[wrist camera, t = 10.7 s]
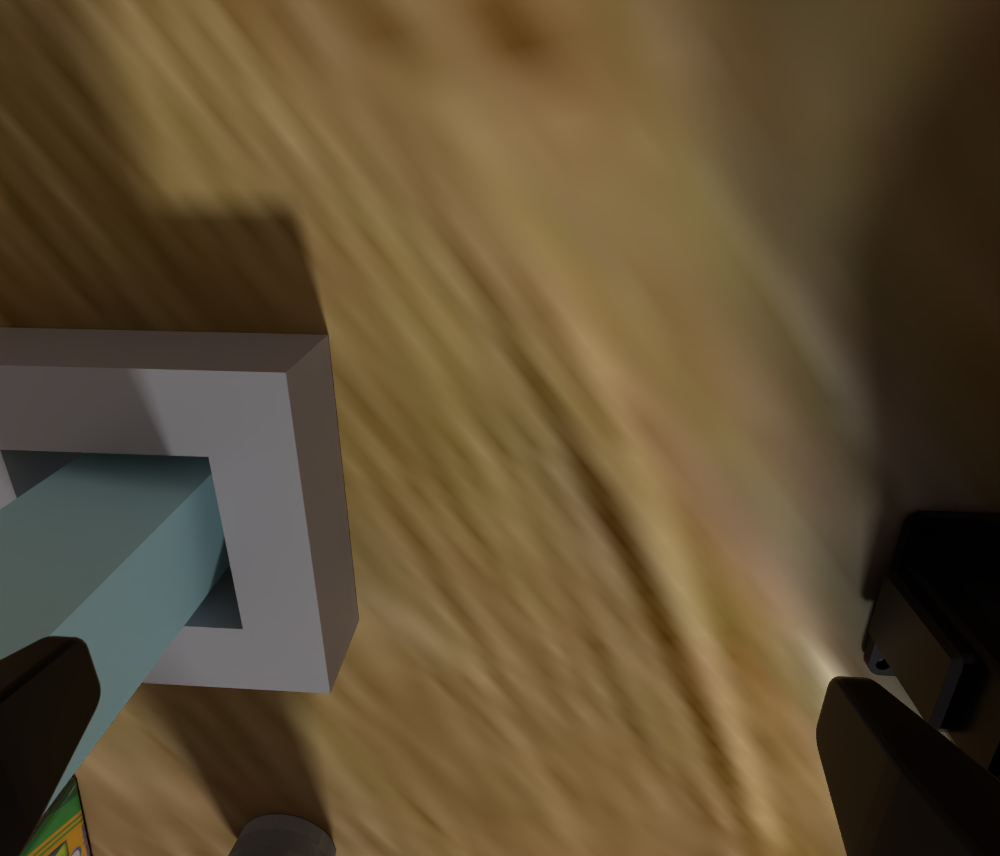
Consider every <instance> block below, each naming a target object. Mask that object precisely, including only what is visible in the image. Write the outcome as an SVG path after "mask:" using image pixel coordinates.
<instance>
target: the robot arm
mask: <svg viewBox="0 0 1000 856" xmlns="http://www.w3.org/2000/svg"><path fill="white" fill-rule="evenodd" d="M924 524H928V525H927V527H926V528H924V529H923V530H919V531H918V529H919V528H920V527H921V526H922V525H924ZM868 633H869V635H870V636H869V639H868V643H867V646H866V649H865V653H864V661H865V663H866V665H867V666H868V668H869V670H870V671H871V672H872V673H874V674H877V675H885V676H896V677H897V678H898V680H899V682H900V683H901V685H902V686H903V688H904V689H905V691H906V692H907V694H908V696H909V697H910V699H911V700H912V702H913V703H914V705H915V706H916V708H917V710H918V711H919V713H920V714H921V716H922V717H923V719H924V720H923V719H922V718H921V717H920V716H918V715H917V714H916V713H915V712H913V711H912V710H911V709H910V708H908V707H907V706H906V705H905V704H903V703H902V702H901V701H900V700H898V699H897V698H896V697H894V696H893V695H892V694H891V693H889V692H888V691H887V690H886V689H884V688H883V687H882V686H881V685H879V684H878V683H877V682H875V681H873V680H871V679H868V678H862V677H843V676H838V677H834V678H833V679H832V680H831V681H830V682H829V685H828V688H827V691H826V695H825V698H824V702H823V705H822V709H821V713H820V716H819V720H818V723H817V729H816V740H817V747H818V751H819V755H820V759H821V762H822V766H823V770H824V773H825V777H826V781H827V784H828V788H829V792H830V795H831V799H832V803H833V806H834V810H835V814H836V818H837V821H838V825H839V829H840V832H841V836H842V840H843V843H844V847H845V851H846V854H847V856H1000V513H978V512H951V511H917V512H915V513H912V514H911V515H909V516H908V517H907V518H906V520H905V521H904V523H903V527H902V530H901V533H900V536H899V540H898V543H897V546H896V550H895V553H894V556H893V560H892V563H891V566H890V570H889V571H888V572H887V574H886V575H885V576H884V579H883V583H882V586H881V589H880V593H879V596H878V600H877V603H876V606H875V610H874V613H873V616H872V620H871V623H870V626H869V630H868ZM881 659H883V660H882V661H879V660H881ZM100 695H101V685H100V682H99V679H98V676H97V673H96V670H95V667H94V664H93V661H92V658H91V655H90V652H89V648H88V646H87V644H86V642H85V641H83V640H82V639H81V638H78V637H68V636H47V637H44V638H41V639H39V640H37V641H35V642H33V643H31V644H30V645H28V646H26V647H24V648H22V649H20V650H18V651H16V652H14V653H12V654H10V655H8V656H7V657H5V658H3V659H1V660H0V856H20V854H21V852H22V851H23V849H24V847H25V846H26V844H27V842H28V841H29V839H30V837H31V835H32V834H33V832H34V830H35V828H36V826H37V825H38V823H39V821H40V819H41V817H42V815H43V813H44V812H45V810H46V808H47V806H48V804H49V802H50V800H51V798H52V796H53V794H54V792H55V790H56V788H57V786H58V784H59V782H60V780H61V778H62V776H63V774H64V772H65V770H66V768H67V766H68V764H69V762H70V760H71V758H72V756H73V754H74V752H75V750H76V748H77V746H78V744H79V742H80V740H81V739H82V737H83V735H84V733H85V731H86V729H87V727H88V725H89V723H90V721H91V719H92V717H93V715H94V713H95V711H96V709H97V706H98V704H99V700H100ZM940 732H945V733H946V734H947V736H948V737H949V739H950V740H951V741H950V740H949V739H947V738H946V737H945V736H944V735H942V734H941V733H940Z"/></svg>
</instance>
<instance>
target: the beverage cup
mask: <svg viewBox="0 0 1000 856" xmlns="http://www.w3.org/2000/svg"><path fill="white" fill-rule="evenodd" d="M335 855H336V849H335V847H334V844H333V841H332V840H331V838H330V837H329V836H328V835H327V834H326V833H325V832H324V830H322V829H321V828H319V827H318V826H316V825H315V824H313V823H312V822H309V821H307V820H304V819H301V818H299V817H295V816H290V815H284V814H272V815H264V816H261V817H258V818H254V819H253V820H251V821H250V822H249V823H247V824H246V825H245V826H244V828H243V830H242V832H241V834H240V836H239V838H238V840H237V841H236V843H235V845H234V847H233V848H232V850H231V852H230V854H229V855H228V856H335Z"/></svg>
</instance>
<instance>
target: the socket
mask: <svg viewBox="0 0 1000 856" xmlns="http://www.w3.org/2000/svg"><path fill="white" fill-rule="evenodd" d="M83 453H111V454H140V455H169V456H197V457H209V462H210V467H211V472H212V477H213V482H214V487H215V492H216V497H217V502H218V507H219V512H220V517H221V522H222V527H223V532H224V537H225V542H226V547H227V552H228V557H229V562H230V565H229V566H228V568H227V569H226V570H225V572H224V573H223V574H222V576H221V577H220V578H219V580H218V581H217V582H216V584H215V585H214V586H213V588H212V589H211V591H210V592H209V593H208V595H207V596H206V597H205V599H204V600H203V601H202V603H201V604H200V605H199V607H198V608H197V609H196V611H195V612H194V613H193V615H192V616H191V617H190V619H189V620H188V621H187V623H186V624H185V625H184V627H183V628H182V629H181V631H180V632H179V633H178V635H177V636H176V637H175V639H174V640H173V641H172V643H171V644H170V645H169V647H168V648H167V649H166V651H165V652H164V653H163V655H162V656H161V658H160V659H159V660H158V662H157V663H156V664H155V666H154V667H153V668H152V670H151V671H150V672H149V674H148V675H147V676H146V678H145V679H144V680H143V682H142V683H153V684H170V685H188V686H205V687H223V688H240V689H258V690H275V691H293V692H310V693H328V694H330V693H331V690H332V688H333V685H334V683H335V680H336V678H337V675H338V672H339V670H340V667H341V665H342V662H343V660H344V657H345V655H346V652H347V650H348V647H349V644H350V642H351V639H352V637H353V634H354V632H355V629H356V627H357V624H358V621H359V618H358V608H357V599H356V590H355V580H354V571H353V562H352V553H351V543H350V534H349V525H348V515H347V506H346V497H345V488H344V478H343V469H342V460H341V450H340V441H339V432H338V423H337V413H336V404H335V395H334V385H333V376H332V367H331V357H330V348H329V339H328V335H319V334H276V333H232V332H188V331H144V330H100V329H57V328H13V327H0V509H2V508H3V507H5V506H6V505H8V504H9V503H11V502H12V501H14V500H15V499H17V498H18V497H19V496H21V495H22V494H24V493H25V492H27V491H28V490H30V489H31V488H33V487H34V486H36V485H37V484H39V483H40V482H42V481H43V480H45V479H46V478H47V477H49V476H50V475H52V474H53V473H55V472H56V471H58V470H59V469H61V468H62V467H64V466H65V465H67V464H68V463H70V462H71V461H72V460H74V459H75V458H77V457H78V456H80V455H81V454H83Z"/></svg>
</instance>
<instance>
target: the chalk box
mask: <svg viewBox="0 0 1000 856" xmlns="http://www.w3.org/2000/svg"><path fill="white" fill-rule="evenodd" d="M20 856H90V850H89V845H88V841H87V837H86V831H85V826H84V821H83V816H82V811H81V806H80V801H79V796H78V791H77V784H76V779H75V778H70V779H69V781H68V782H67V783H66V785H65V786H64V788H63V789H62V790H61V792H60V793H59V794H58V796H57V797H56V798H55V800H54V801H53V802H52V804H51V805H50V806H49V808H48V809H47V810H46V812H45V813H44V814H43V816H42V817H41V819H40V821H39V823H38V825H37V826H36V828H35V830H34V832H33V834H32V835H31V837H30V839H29V841H28V842H27V844H26V846H25V847H24V849H23V851H22V852H21V854H20Z"/></svg>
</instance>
